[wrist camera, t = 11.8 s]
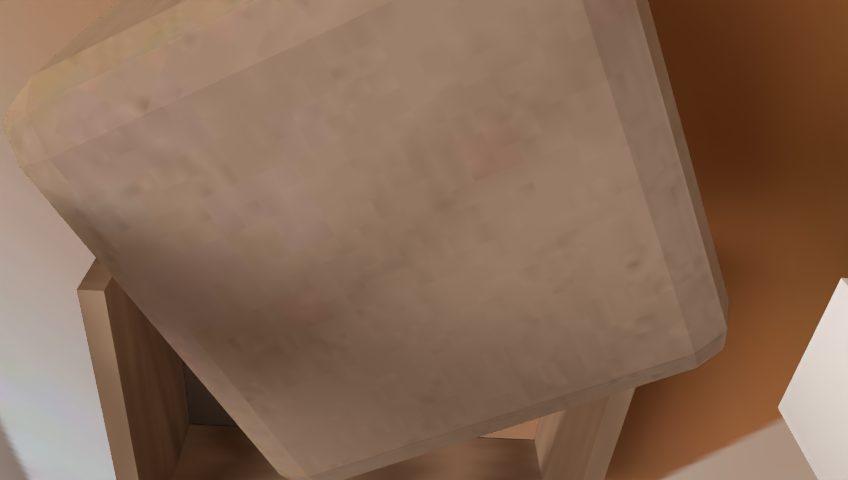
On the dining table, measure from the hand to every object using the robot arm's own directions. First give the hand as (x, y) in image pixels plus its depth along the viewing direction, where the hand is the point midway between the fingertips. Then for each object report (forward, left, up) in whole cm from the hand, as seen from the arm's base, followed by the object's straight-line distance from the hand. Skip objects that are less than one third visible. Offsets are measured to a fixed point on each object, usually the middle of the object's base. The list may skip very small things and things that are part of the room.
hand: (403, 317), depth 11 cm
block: (0, 0, -21) cm, 21 cm away
